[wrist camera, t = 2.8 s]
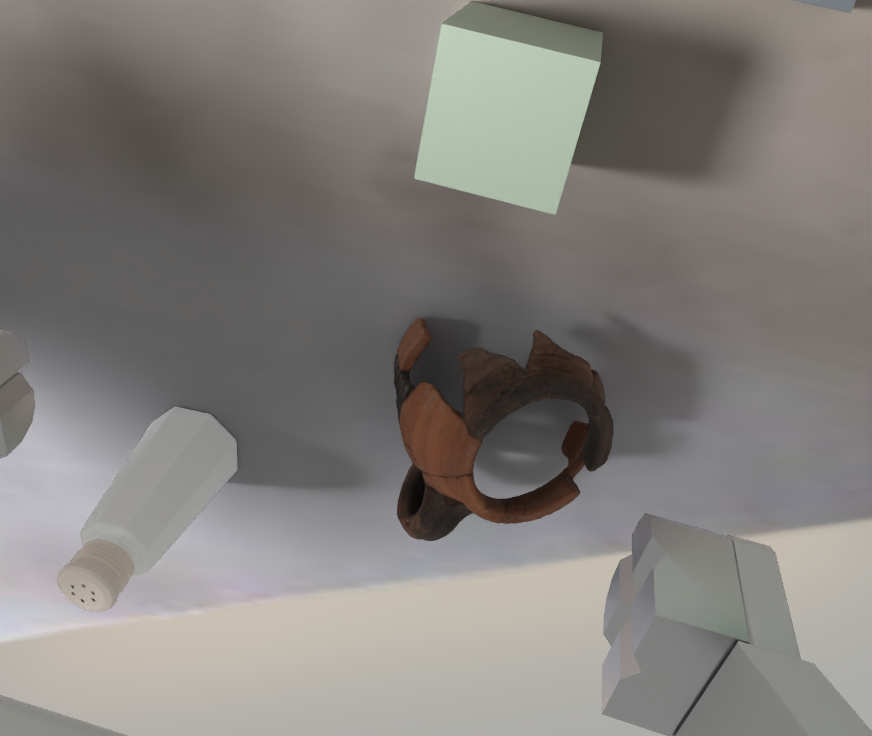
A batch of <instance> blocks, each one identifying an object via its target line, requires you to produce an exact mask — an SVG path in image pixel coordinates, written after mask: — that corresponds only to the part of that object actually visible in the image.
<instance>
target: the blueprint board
mask: <svg viewBox="0 0 872 736" xmlns="http://www.w3.org/2000/svg"><path fill="white" fill-rule="evenodd" d="M796 1H800V2H804V3H809V4H813V5H817V6H821V7H826V8H830V9H834V10H838V11H843V12H847V13H851V11H852V8H853V6H854V4H855V2H856V0H796Z"/></svg>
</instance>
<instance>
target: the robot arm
mask: <svg viewBox="0 0 872 736" xmlns="http://www.w3.org/2000/svg"><path fill="white" fill-rule="evenodd" d="M28 363H29V358H28V352H27V347H26V342H25V340H24V339H22V338H21V337H19V336H18V335H17V334H15V333H13V332H10V331H6V330H3V329H0V458H3V457H6V456H7V455H8V454H9V453H11V452H12V451H13V450H14V449H15V448H16V447H17V446H18V445H19V444H20V443H21V442H22V440H23V438H24V436H25V435H26V433H27V431H28V429H29V427H30V425H31V423H32V421H33V414H34V408H35V401H34V393H33V389H32V388H31V386H30V385H29V384H28V382H27V381H26V380H25V378H24V377H23V376H22V374H21V373H20V372H21V371H22V370H23V369H24V368H25V367H26V365H27V364H28ZM603 633H604V635H605V637H606V638H607V640H608V642H609V643H610V645H611V646H612V647H611V649H610V651H609V653H608V655H607V657H606V659H605V661H604V663H603V665H602V666H603V667H602V714H604V715H607V716H610V717H613V718H616V719H619V720H622V721H625V722H628V723H631V724H634V725H637V726H640V727H643V728H646V729H649V730H652V731H655V732H658V733H661V734H664V735H667V736H872V731H871V730H870V728H869V727H868V726H867V725H866V724H865V723H864V721H863V720H862V719H861V718H860V717H859V716H858V714H857V713H856V712H855V711H854V710H853V709H852V707H851V706H850V705H849V704H848V703H847V702H846V701H845V699H844V698H843V697H842V696H841V695H840V693H839V692H838V691H837V690H836V689H835V688H834V687H833V685H832V684H831V683H830V682H829V681H828V679H827V678H826V677H825V676H824V675H823V674H822V672H821V671H820V670H819V669H818V668H817V667H816V665H815V664H813V663H810V662H807V661H803V660H801V658H800V653H799V649H798V645H797V641H796V637H795V632H794V628H793V624H792V620H791V617H790V612H789V608H788V603H787V599H786V595H785V591H784V587H783V583H782V579H781V574H780V571H779V566H778V562H777V558H776V554H775V552H774V551H773V550H772V548H771V547H770V546H767V545H763V544H759V543H756V542H752V541H748V540H744V539H741V538H737V537H733V536H729V535H728V536H725V535H722V534H718V533H715V532H711V531H708V530H704V529H700V528H697V527H693V526H690V525H686V524H682V523H679V522H675V521H672V520H668V519H665V518H661V517H657V516H654V515H650V514H647V513H645V515H644V516H643V517H642V518H641V519H640V521H639V522H638V524H637V526H636V528H635V530H634V532H633V534H632V555H630V556H628V557H626V558H624V559H622V560H620V562H619V564H618V567H617V569H616V571H615V573H614V576H613V578H612V581H611V584H610V588H609V592H608V595H607V599H606V605H605V613H604V630H603ZM0 736H127V735H124V734H121V733H118V732H115V731H112V730H109V729H106V728H103V727H99V726H96V725H93V724H90V723H87V722H84V721H81V720H78V719H74V718H71V717H68V716H65V715H62V714H59V713H55V712H53V711H49V710H46V709H43V708H40V707H37V706H34V705H31V704H28V703H24V702H21V701H18V700H15V699H12V698H9V697H6V696H3V695H0Z"/></svg>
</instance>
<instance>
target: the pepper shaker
mask: <svg viewBox="0 0 872 736" xmlns="http://www.w3.org/2000/svg"><path fill="white" fill-rule="evenodd" d="M237 470H238V466H237V442H236V439H235V438H234V437H233V436H232V435H231V434H230V433H229V432H228V431H227V430H226V429H225V428H224V427H223V426H222V425H221V424H220V423H219V422H218V421H217V420H216V419H215V418H214V417H213V416H212V415H211V414H208V413H204V412H199V411H194V410H190V409H185V408H181V407H173V408H172V409H170V410H169V411H167V412H166V413H164V414H163V415H162V416H160V417H159V418H157V419H156V420H154V421H153V422H152V423H151V424H150V426H149V427H148V429H147V430H146V432H145V433H144V435H143V436H142V438H141V439H140V441H139V442H138V444H137V445H136V447H135V448H134V450H133V451H132V453H131V455H130V456H129V458H128V459H127V461H126V462H125V464H124V465H123V467H122V468H121V470H120V471H119V473H118V474H117V476H116V477H115V479H114V480H113V482H112V483H111V485H110V486H109V488H108V489H107V491H106V492H105V494H104V495H103V497H102V498H101V500H100V502H99V503H98V505H97V506H96V508H95V509H94V511H93V512H92V514H91V515H90V517H89V518H88V520H87V521H86V523H85V525H84V527H83V528H82V530H81V532H80V536H81V541H82V545H83V547H82V549H81V550H79V551H78V552H77V553H76V554H75V556H74V557H73V558H72V559H71V561H70V563H69V564H67V565H66V566H64V567H63V568H62V569H61V570H60V572H59V573H58V576H57V583H58V587H59V589H60V591H61V593H62V594H63V595H64V596H65V597H66V598H67V599H68V600H69V601H70V602H71V603H73V604H75V605H76V606H78V607H80V608H83V609H85V610H89V611H94V612H100V611H105V610H108V609H110V608H112V607H113V605H114V604H115V603H116V601H117V598H118V595H119V593H120V592H121V591H122V590H123V589H124V587H125V586H126V584H127V583H128V581H129V578H131V579H133V578H135V577H137V576H139V575H141V574H143V573H144V572H146V571H148V570H150V569H151V568H152V567H153V566H154V565H155V564H156V563H157V562H158V561H159V560H160V559H161V557H162V556H163V555H164V554H165V553H166V552H167V551H168V549H169V548H170V547H171V546H172V545H173V544H174V542H175V541H176V540H177V539H178V538H179V537H180V536H181V534H182V533H183V532H184V531H185V530H186V529H187V527H188V526H189V525H190V524H191V523H192V522H193V521H194V519H195V518H196V517H197V516H198V515H199V514H200V512H201V511H202V510H203V509H204V508H205V507H206V506H207V504H208V503H209V502H210V501H211V500H212V499H213V497H214V496H215V495H216V494H217V493H218V492H219V491H220V489H221V488H222V487H223V486H224V485H225V484H226V482H227V481H228V480H229V479H230V478H231V477H232V476H233V474H234V473H235V472H236V471H237Z"/></svg>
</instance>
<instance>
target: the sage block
mask: <svg viewBox="0 0 872 736" xmlns="http://www.w3.org/2000/svg"><path fill="white" fill-rule="evenodd" d="M602 41H603V32H599V31H594V30H590V29H586V28H582V27H578V26H574V25H570V24H565V23H561V22H557V21H553V20H549V19H545V18H541V17H536V16H532V15H528V14H524V13H520V12H516V11H511V10H507V9H503V8H499V7H495V6H491V5H487V4H482V3H478V2H474V1H471V2H470V3H469V4H467V5H466V6H464V7H463V8H462V9H460V10H459V11H458V12H456V13H455V14H454V15H452V16H451V17H450V18H448V19H447V20H446V21H444V22H443V23H442V24H441V30H440V35H439V41H438V46H437V52H436V58H435V63H434V69H433V74H432V80H431V86H430V91H429V97H428V102H427V108H426V113H425V119H424V125H423V130H422V136H421V141H420V147H419V152H418V158H417V164H416V169H415V175H414V179H418V180H422V181H426V182H429V183H433V184H437V185H441V186H445V187H449V188H453V189H457V190H460V191H464V192H468V193H472V194H476V195H480V196H484V197H488V198H492V199H495V200H499V201H503V202H507V203H511V204H515V205H519V206H523V207H527V208H530V209H534V210H538V211H542V212H546V213H550V214H554V215H556V212H557V209H558V205H559V202H560V198H561V195H562V192H563V188H564V185H565V181H566V178H567V175H568V171H569V168H570V165H571V161H572V158H573V154H574V151H575V148H576V144H577V141H578V137H579V134H580V131H581V127H582V124H583V121H584V117H585V114H586V110H587V107H588V104H589V100H590V97H591V93H592V90H593V87H594V83H595V80H596V76H597V73H598V70H599V66H600V63H601V53H602Z"/></svg>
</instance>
